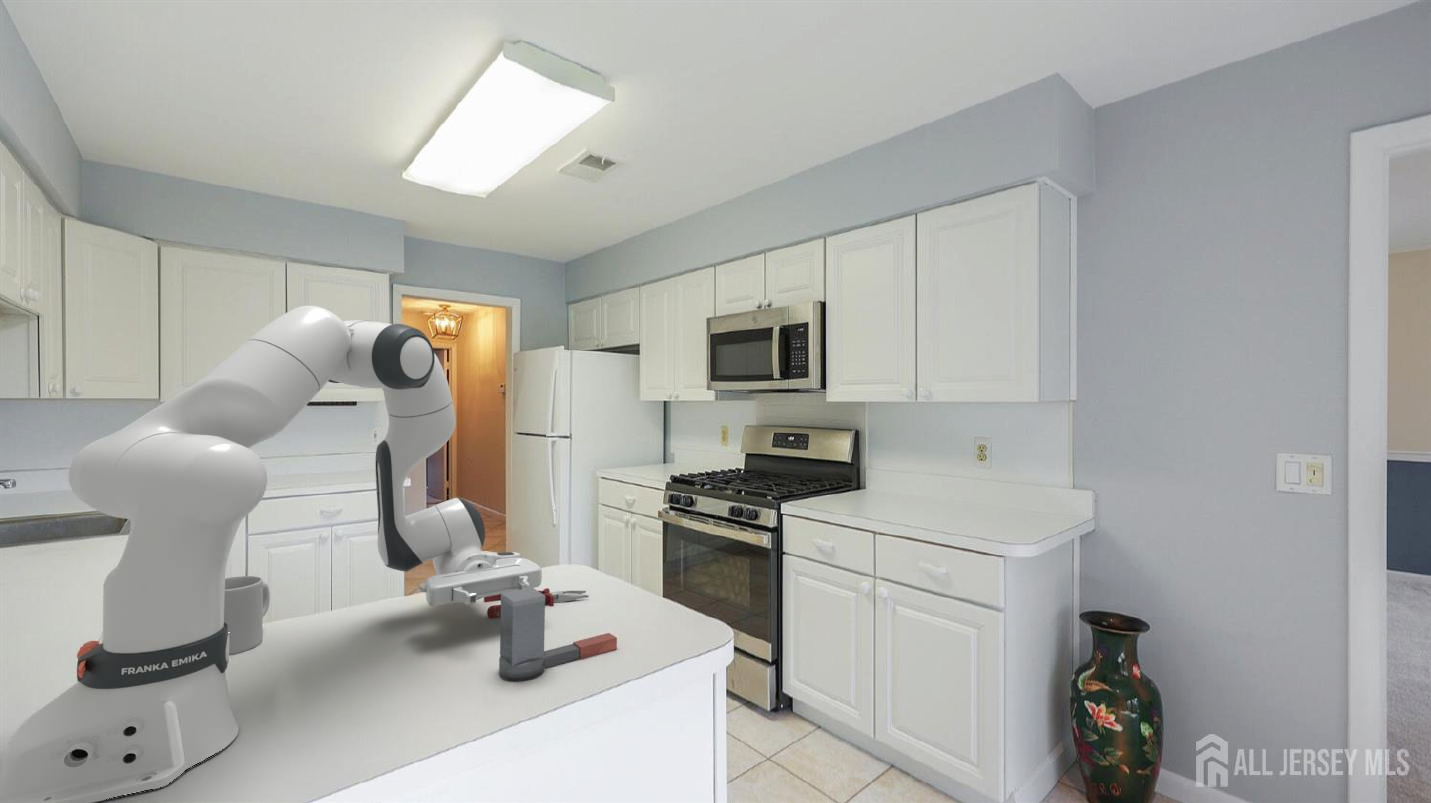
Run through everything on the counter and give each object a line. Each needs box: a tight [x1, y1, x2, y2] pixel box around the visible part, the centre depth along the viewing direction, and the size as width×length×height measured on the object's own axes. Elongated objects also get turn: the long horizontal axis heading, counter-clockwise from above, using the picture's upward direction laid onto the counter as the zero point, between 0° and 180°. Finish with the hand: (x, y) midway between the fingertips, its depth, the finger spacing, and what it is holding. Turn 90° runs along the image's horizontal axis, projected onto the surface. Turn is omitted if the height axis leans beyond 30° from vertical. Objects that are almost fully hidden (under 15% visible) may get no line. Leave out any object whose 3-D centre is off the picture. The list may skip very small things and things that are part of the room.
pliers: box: [483, 588, 589, 619], centre depth 130 cm, size 12×21×3 cm, turn 114°
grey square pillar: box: [499, 588, 546, 666], centre depth 98 cm, size 5×5×10 cm
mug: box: [224, 575, 271, 656], centre depth 107 cm, size 12×8×11 cm
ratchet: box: [498, 632, 618, 682], centre depth 102 cm, size 20×7×6 cm, turn 129°
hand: (499, 594), depth 107 cm, fingers open, 8 cm apart
